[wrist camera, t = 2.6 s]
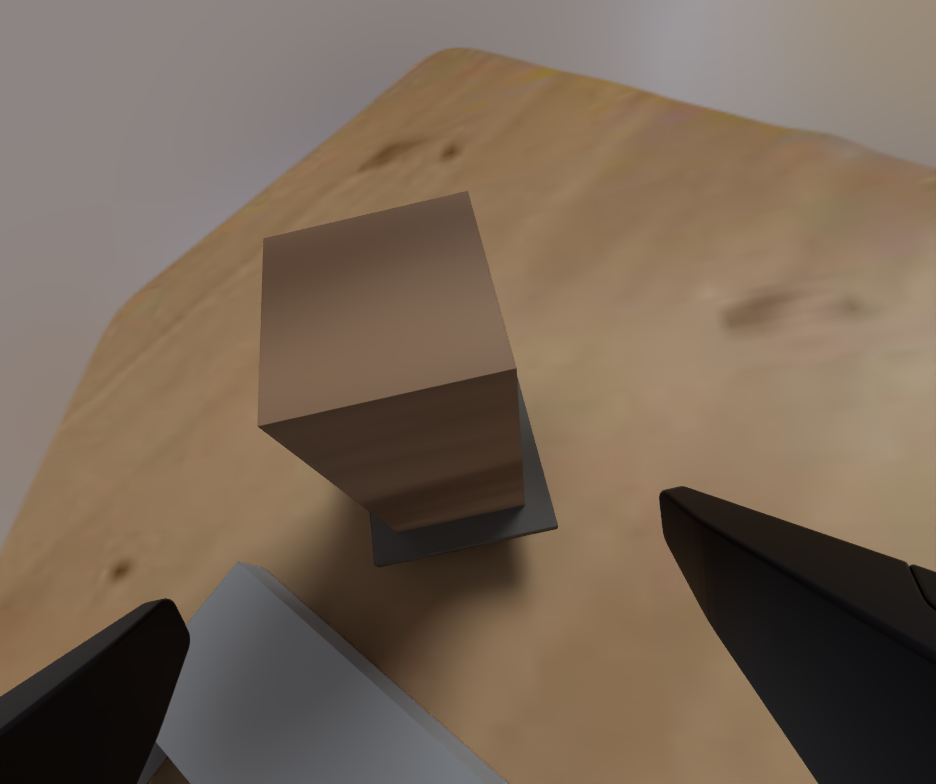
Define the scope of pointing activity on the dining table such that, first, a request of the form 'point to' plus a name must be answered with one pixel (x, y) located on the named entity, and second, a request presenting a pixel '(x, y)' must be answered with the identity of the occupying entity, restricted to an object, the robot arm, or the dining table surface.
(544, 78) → the dining table surface
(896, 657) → the robot arm
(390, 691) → the slate board
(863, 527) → the dining table surface
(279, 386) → the walnut peg
